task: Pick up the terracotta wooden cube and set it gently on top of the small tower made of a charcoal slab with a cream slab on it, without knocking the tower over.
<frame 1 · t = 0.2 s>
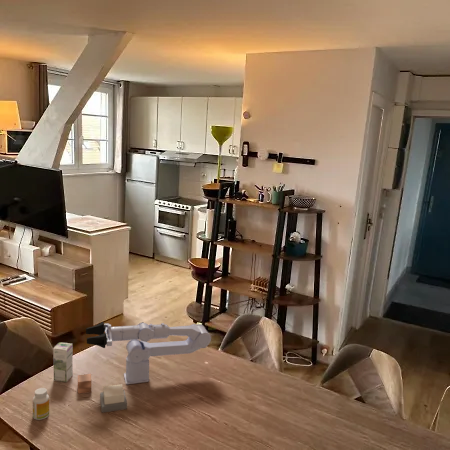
hand: (86, 335, 165), 21 cm above the table, tool horizontal, fingers open, 7 cm apart
syrup box: (63, 378, 173), on the table
bottom slab: (113, 404, 159), on the table, touching top slab
top slab: (113, 397, 158), point 2 cm above the table, touching bottom slab
supplement bottle: (41, 416, 149), on the table
terracotta cube: (84, 389, 166), on the table
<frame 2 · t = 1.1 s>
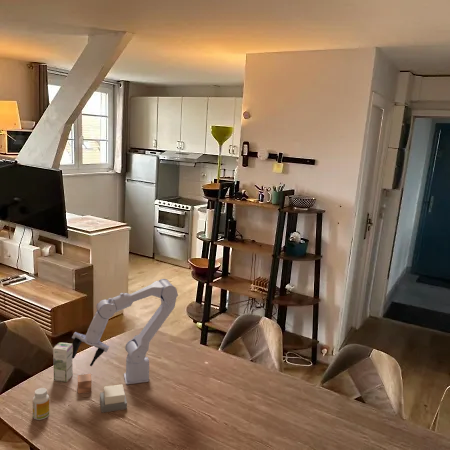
hand: (82, 361, 164), 12 cm above the table, tool tilted 20°, fingers open, 7 cm apart
bottom slab: (113, 404, 159), on the table
top slab: (113, 397, 158), point 2 cm above the table
everything else where it was.
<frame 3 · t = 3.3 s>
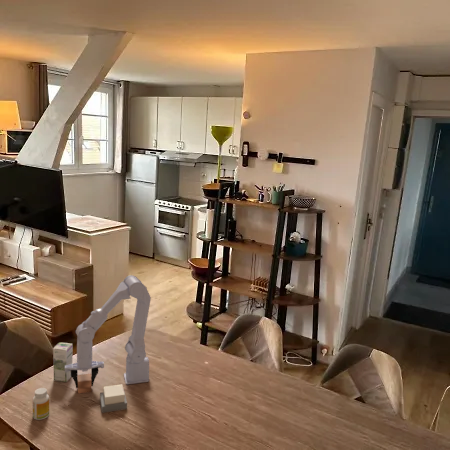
hand: (84, 385, 166), 1 cm above the table, tool pointing down, fingers closed on terracotta cube, 5 cm apart
bottom slab: (113, 404, 159), on the table, touching top slab
top slab: (113, 397, 158), point 2 cm above the table, touching bottom slab
terracotta cube: (84, 389, 166), on the table, touching gripper
everything else where it was.
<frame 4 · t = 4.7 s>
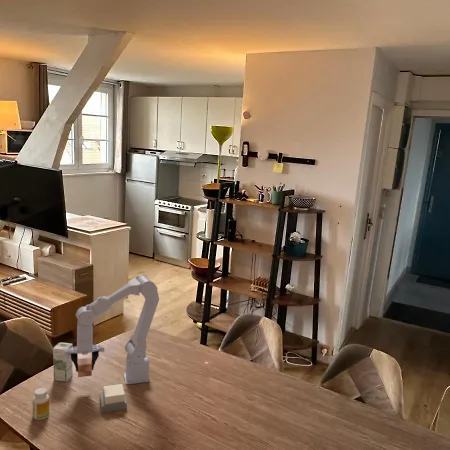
hand: (84, 369, 165), 8 cm above the table, tool pointing down, fingers closed on terracotta cube, 5 cm apart
bottom slab: (113, 404, 159), on the table
top slab: (113, 397, 158), point 2 cm above the table
terracotta cube: (84, 373, 165), point 7 cm above the table, touching gripper
everything else where it was.
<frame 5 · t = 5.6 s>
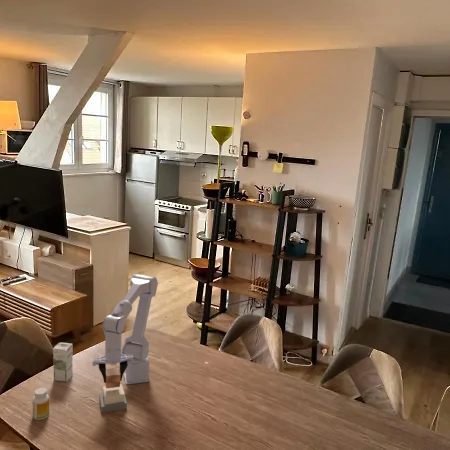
hand: (112, 380, 157), 9 cm above the table, tool pointing down, fingers closed on terracotta cube, 5 cm apart
terracotta cube: (112, 383, 158), point 8 cm above the table, touching gripper
everything else where it was.
when the fingers open (8 cm above the table, at t = 6.9 s): terracotta cube drops 2 cm, resting on top slab.
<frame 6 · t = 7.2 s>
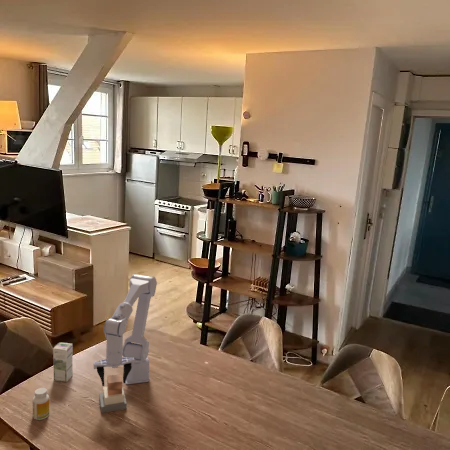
hand: (113, 383, 157), 8 cm above the table, tool pointing down, fingers open, 7 cm apart
bottom slab: (112, 405, 159), on the table, touching top slab
top slab: (113, 398, 158), point 2 cm above the table, touching bottom slab, terracotta cube
terracotta cube: (114, 390, 158), point 5 cm above the table, touching top slab
everything else where it was.
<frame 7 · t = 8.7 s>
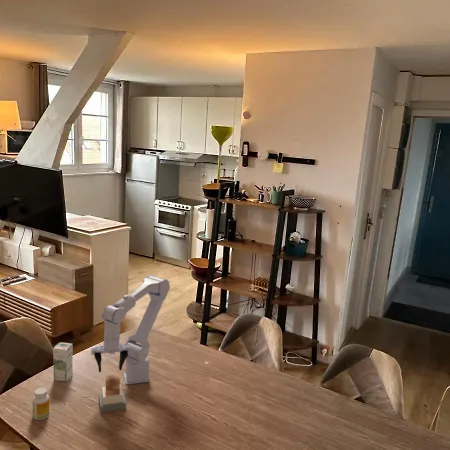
hand: (110, 369, 162), 10 cm above the table, tool pointing down, fingers open, 7 cm apart
nothing on the table moved.
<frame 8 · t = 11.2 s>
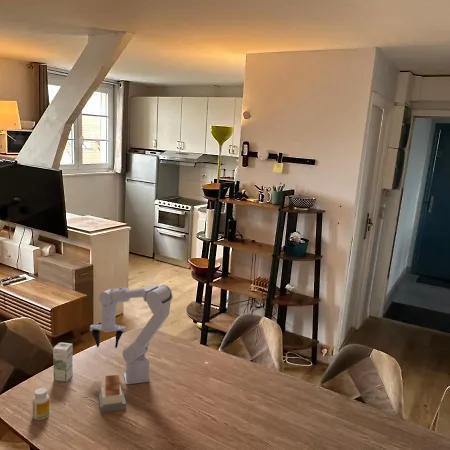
hand: (107, 346, 180), 10 cm above the table, tool pointing down, fingers open, 7 cm apart
top slab: (111, 398, 158), point 2 cm above the table, touching bottom slab
terracotta cube: (112, 391, 158), point 5 cm above the table
everything else where it was.
at the end: terracotta cube 0.2 cm off-centre on the top slab, point 3.0 cm above the top slab's base; top slab 0.2 cm off-centre on the bottom slab, point 3.0 cm above the bottom slab's base; terracotta cube tilted 0° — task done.
